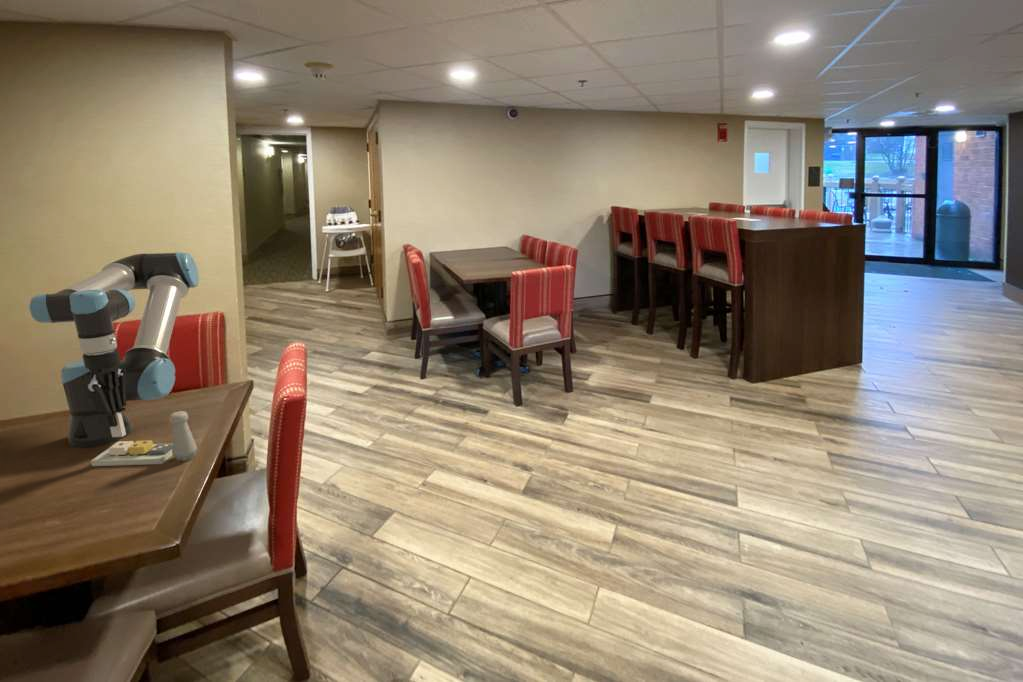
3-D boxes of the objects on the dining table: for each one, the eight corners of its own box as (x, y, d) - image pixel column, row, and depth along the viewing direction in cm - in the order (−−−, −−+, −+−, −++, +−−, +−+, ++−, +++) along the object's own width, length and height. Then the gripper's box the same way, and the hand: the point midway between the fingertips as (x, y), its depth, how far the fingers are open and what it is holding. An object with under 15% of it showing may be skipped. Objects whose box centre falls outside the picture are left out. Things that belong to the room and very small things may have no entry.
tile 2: (129, 454, 149) (128, 447, 149) (138, 447, 153) (137, 440, 152) (145, 453, 149) (143, 446, 149) (153, 447, 153) (152, 439, 153)
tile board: (91, 466, 147) (90, 461, 147) (113, 450, 156) (112, 445, 155) (162, 463, 148) (161, 458, 147) (180, 448, 156) (179, 443, 156)
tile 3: (149, 457, 150) (148, 450, 149) (158, 451, 154) (156, 443, 153) (165, 457, 150) (163, 450, 149) (173, 450, 154) (171, 443, 153)
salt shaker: (187, 464, 147) (178, 418, 144) (168, 462, 148) (159, 416, 145) (203, 453, 153) (195, 409, 149) (184, 452, 154) (176, 408, 150)
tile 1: (110, 455, 149) (108, 447, 148) (119, 448, 153) (118, 441, 152) (125, 454, 149) (124, 447, 149) (134, 447, 153) (133, 440, 152)
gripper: (98, 358, 137) (118, 446, 144) (130, 343, 150) (147, 425, 156) (66, 359, 137) (88, 447, 143) (101, 344, 149) (120, 425, 156)
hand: (119, 435), depth 150 cm, fingers closed
